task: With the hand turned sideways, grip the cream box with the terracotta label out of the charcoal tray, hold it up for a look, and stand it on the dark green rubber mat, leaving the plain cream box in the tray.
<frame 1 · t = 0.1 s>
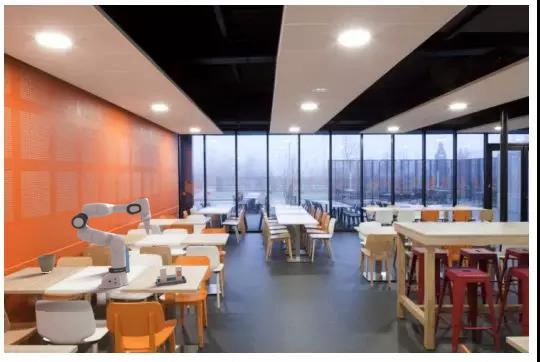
hand: (147, 233, 315), 39 cm above the table, tool pointing down, fingers open, 8 cm apart
labelled box: (179, 281, 309), resting on charcoal tray
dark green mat: (168, 277, 323), on the table
charcoal tray: (171, 282, 307), on the table
plant pot: (47, 273, 357), on the table
gum box: (120, 271, 352), on the table
plain box: (163, 283, 305), resting on charcoal tray
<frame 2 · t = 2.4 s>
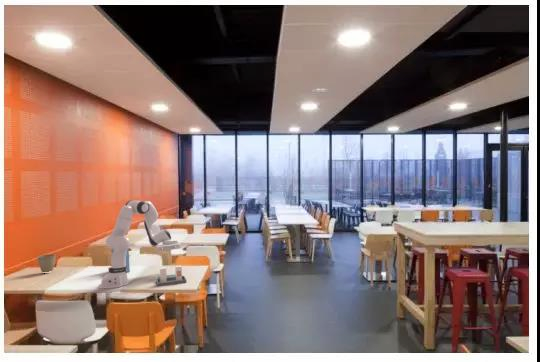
hand: (168, 248, 326), 24 cm above the table, tool horizontal, fingers open, 8 cm apart
nothing on the table moved.
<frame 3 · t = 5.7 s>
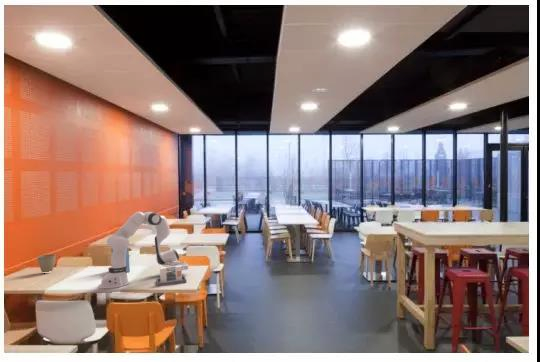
hand: (177, 269, 320), 7 cm above the table, tool horizontal, fingers open, 8 cm apart
nothing on the table moved.
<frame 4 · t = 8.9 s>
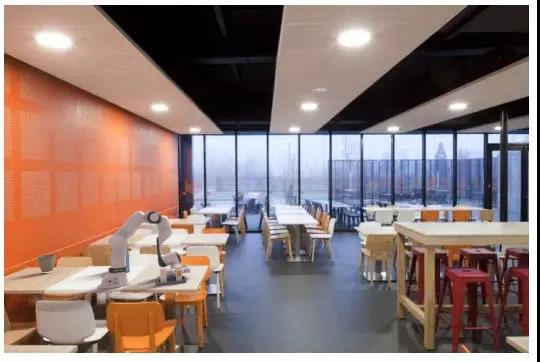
hand: (178, 273, 308), 7 cm above the table, tool horizontal, fingers closed on labelled box, 4 cm apart
labelled box: (179, 281, 309), resting on charcoal tray, touching gripper
everything else where it was.
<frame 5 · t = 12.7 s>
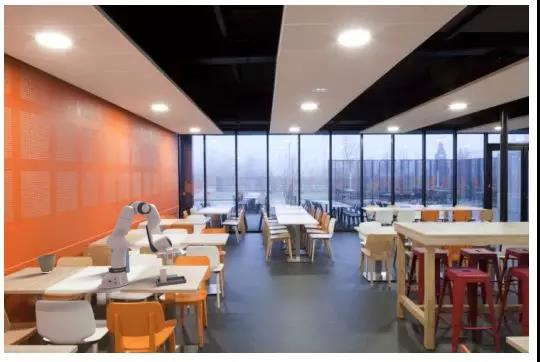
hand: (169, 256, 318), 19 cm above the table, tool horizontal, fingers closed on labelled box, 4 cm apart
labelled box: (170, 263, 319), point 12 cm above the table, touching gripper
everything else where it was.
when the fingers open (8 cm above the table, at t = 16.5 s): labelled box drops 1 cm, resting on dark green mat.
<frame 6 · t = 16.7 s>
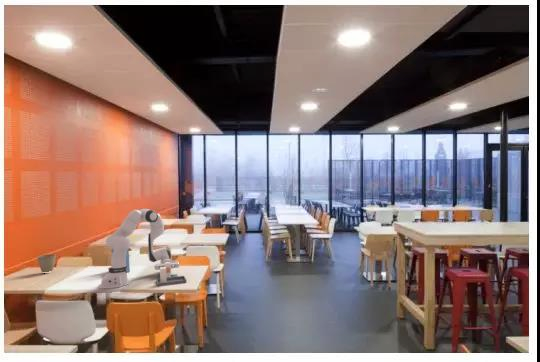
hand: (167, 267, 322), 8 cm above the table, tool horizontal, fingers open, 6 cm apart
labelled box: (167, 277, 323), point 1 cm above the table, touching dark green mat
everything else where it was.
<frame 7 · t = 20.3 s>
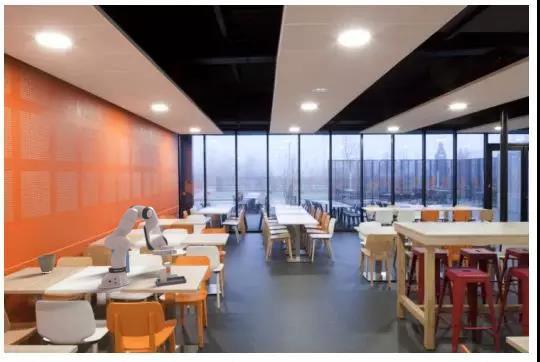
hand: (165, 253, 334), 18 cm above the table, tool horizontal, fingers open, 8 cm apart
nothing on the table moved.
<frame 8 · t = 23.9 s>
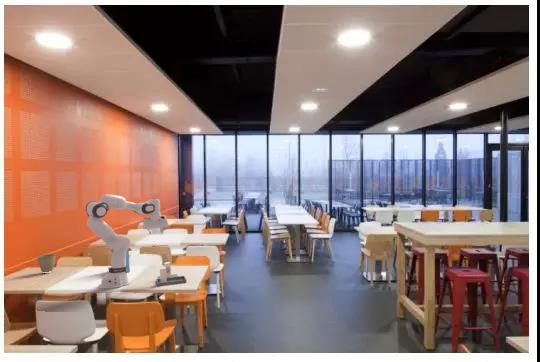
hand: (155, 233, 326), 37 cm above the table, tool pointing down, fingers open, 8 cm apart
nothing on the table moved.
at the end: labelled box inside the target area (0.1 cm from its centre), point 0.5 cm above the table; labelled box tilted 0°; plain box moved 0.0 cm from its start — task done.
